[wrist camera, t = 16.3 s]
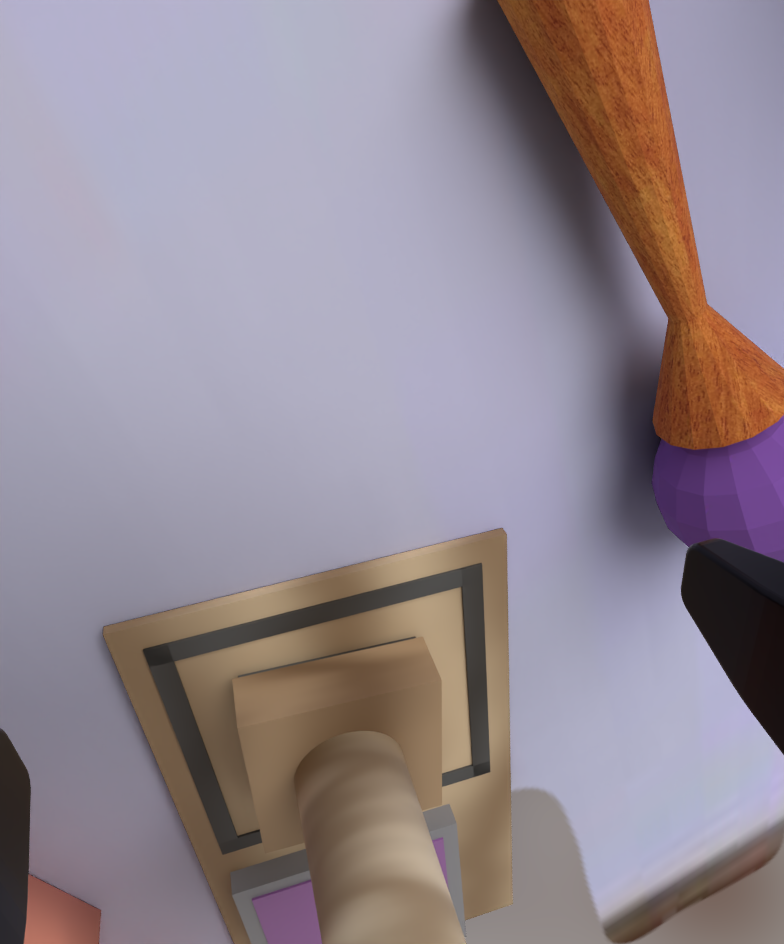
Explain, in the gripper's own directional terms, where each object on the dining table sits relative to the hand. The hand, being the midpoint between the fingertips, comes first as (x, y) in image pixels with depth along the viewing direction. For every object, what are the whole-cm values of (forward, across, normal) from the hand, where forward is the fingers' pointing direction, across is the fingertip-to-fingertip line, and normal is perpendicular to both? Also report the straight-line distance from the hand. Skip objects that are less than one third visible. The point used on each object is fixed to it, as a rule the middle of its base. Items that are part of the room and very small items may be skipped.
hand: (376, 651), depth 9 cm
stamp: (+13, 0, +16) cm, 20 cm away
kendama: (+14, -12, +1) cm, 18 cm away
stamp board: (+13, 0, +22) cm, 25 cm away
